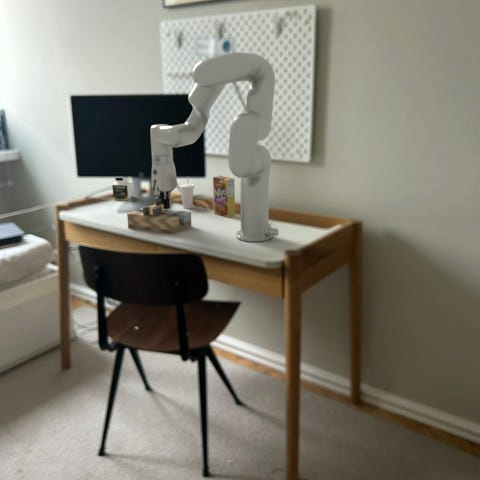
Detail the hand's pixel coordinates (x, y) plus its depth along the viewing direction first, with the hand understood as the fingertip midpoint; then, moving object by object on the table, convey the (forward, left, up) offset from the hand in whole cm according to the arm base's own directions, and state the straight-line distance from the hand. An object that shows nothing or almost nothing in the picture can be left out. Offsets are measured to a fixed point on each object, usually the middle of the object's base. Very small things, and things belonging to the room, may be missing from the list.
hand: (165, 208), depth 193 cm
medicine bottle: (+44, -29, -6) cm, 53 cm away
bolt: (0, +6, -1) cm, 6 cm away
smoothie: (+7, -26, -6) cm, 28 cm away
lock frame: (0, +4, -6) cm, 7 cm away
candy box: (-13, -22, -6) cm, 26 cm away
